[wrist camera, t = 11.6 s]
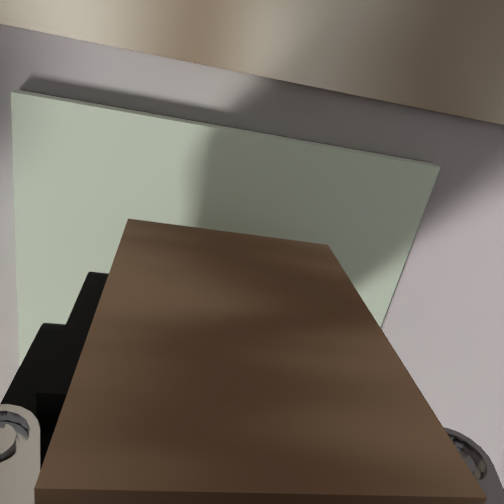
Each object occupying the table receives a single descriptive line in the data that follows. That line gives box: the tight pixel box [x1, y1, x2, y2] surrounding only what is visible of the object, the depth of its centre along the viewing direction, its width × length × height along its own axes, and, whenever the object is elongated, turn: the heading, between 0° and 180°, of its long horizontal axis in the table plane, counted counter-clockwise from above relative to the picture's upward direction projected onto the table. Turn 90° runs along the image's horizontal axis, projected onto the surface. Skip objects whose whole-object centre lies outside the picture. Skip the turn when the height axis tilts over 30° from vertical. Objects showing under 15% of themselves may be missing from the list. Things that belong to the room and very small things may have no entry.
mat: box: [11, 90, 440, 367], centre depth 14 cm, size 12×9×1 cm
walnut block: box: [34, 219, 487, 504], centre depth 9 cm, size 5×5×7 cm
